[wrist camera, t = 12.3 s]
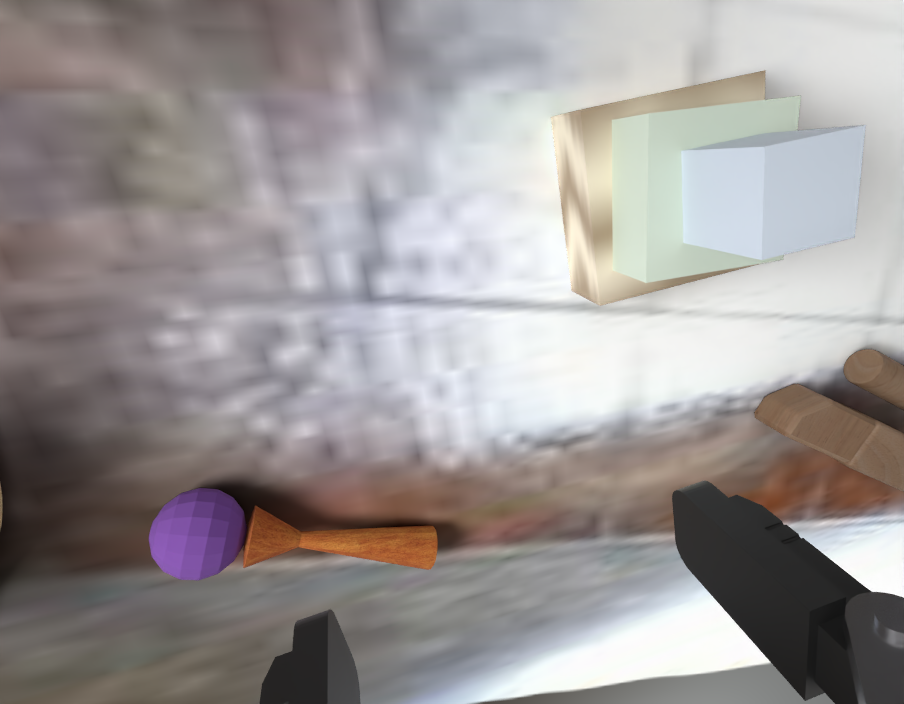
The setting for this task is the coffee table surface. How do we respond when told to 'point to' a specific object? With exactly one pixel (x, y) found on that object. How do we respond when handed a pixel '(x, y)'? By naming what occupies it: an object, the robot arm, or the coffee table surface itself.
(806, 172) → the blue block
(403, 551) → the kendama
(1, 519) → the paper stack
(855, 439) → the wooden block set
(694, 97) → the tower base
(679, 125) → the tower top
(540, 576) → the coffee table surface
